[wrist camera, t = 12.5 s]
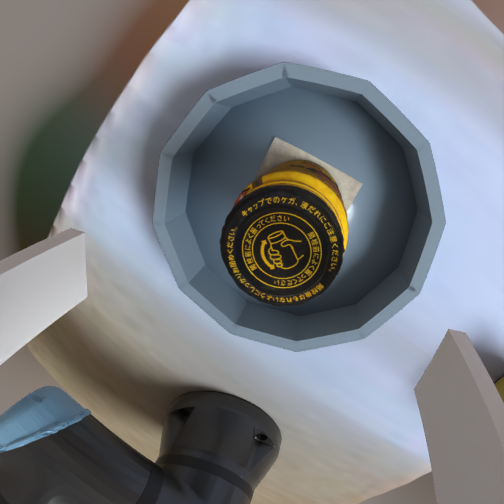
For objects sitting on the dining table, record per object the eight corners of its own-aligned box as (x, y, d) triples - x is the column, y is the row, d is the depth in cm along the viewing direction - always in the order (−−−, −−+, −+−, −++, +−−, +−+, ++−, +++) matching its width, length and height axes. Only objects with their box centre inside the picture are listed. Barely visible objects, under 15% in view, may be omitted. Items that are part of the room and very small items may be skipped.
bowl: (375, 337, 28) (381, 371, 23) (172, 282, 30) (148, 306, 26) (445, 121, 20) (471, 118, 15) (204, 65, 23) (178, 52, 18)
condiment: (362, 183, 22) (396, 224, 11) (308, 274, 26) (292, 372, 15) (275, 136, 23) (229, 133, 12) (229, 231, 26) (159, 301, 15)
